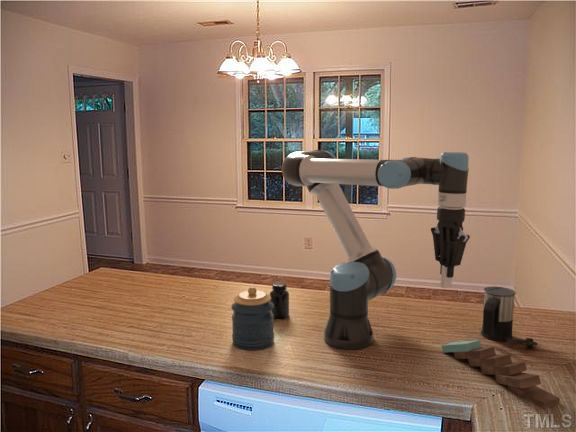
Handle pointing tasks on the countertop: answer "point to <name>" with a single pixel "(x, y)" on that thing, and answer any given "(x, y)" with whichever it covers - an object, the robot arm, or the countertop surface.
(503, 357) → the domino
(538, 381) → the domino
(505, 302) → the milk frother
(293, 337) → the countertop surface
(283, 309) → the supplement bottle
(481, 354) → the domino
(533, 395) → the domino
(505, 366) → the domino
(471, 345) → the domino
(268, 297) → the canister
